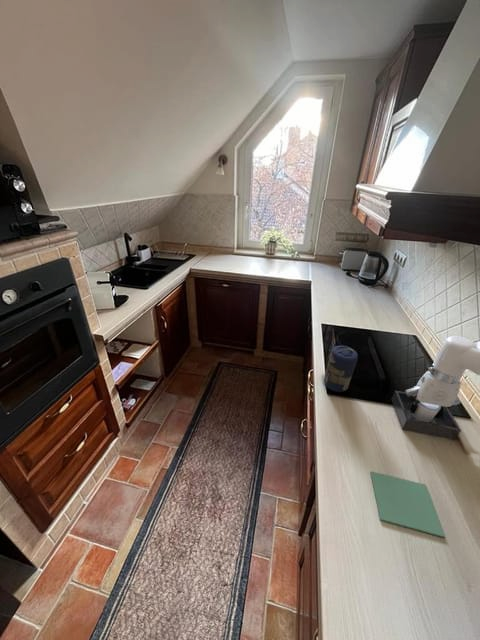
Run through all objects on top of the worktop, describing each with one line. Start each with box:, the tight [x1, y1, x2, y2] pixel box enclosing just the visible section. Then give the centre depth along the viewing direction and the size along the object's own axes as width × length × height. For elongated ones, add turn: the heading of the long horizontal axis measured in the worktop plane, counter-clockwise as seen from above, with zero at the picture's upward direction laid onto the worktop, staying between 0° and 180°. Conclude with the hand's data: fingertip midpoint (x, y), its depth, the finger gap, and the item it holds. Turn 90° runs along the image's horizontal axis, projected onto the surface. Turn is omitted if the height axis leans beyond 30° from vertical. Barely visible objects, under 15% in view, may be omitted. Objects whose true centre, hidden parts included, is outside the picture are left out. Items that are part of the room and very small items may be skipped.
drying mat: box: [370, 471, 446, 539], centre depth 66 cm, size 14×12×1 cm
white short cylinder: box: [412, 402, 441, 422], centre depth 87 cm, size 7×7×7 cm
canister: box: [323, 345, 359, 393], centre depth 98 cm, size 10×10×18 cm
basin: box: [390, 390, 462, 441], centre depth 88 cm, size 16×14×5 cm
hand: (423, 412), depth 88 cm, fingers closed on white short cylinder, 6 cm apart
